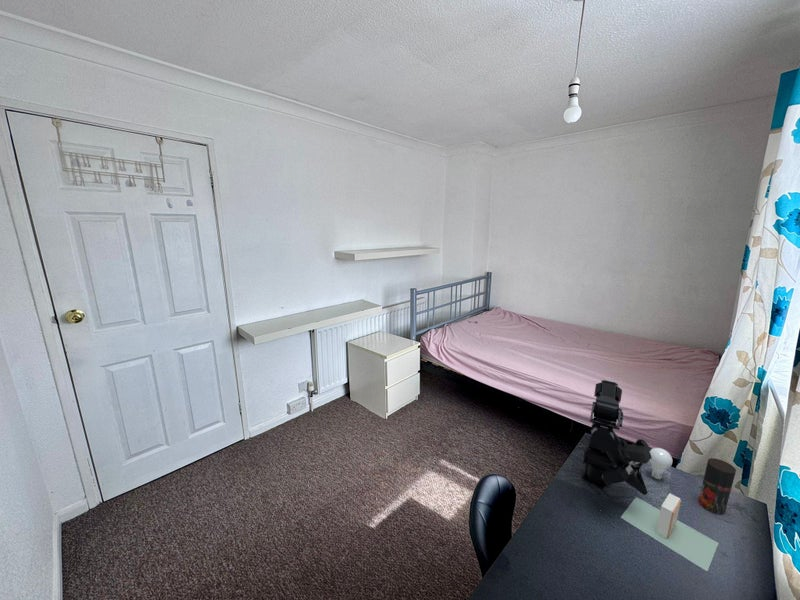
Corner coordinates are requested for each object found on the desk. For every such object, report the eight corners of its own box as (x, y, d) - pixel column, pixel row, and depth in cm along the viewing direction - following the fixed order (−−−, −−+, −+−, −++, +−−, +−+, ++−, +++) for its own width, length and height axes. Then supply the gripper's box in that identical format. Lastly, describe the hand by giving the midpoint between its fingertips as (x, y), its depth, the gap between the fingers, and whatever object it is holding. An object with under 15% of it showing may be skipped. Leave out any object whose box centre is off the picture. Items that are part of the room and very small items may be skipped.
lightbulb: (644, 479, 109) (650, 451, 106) (644, 468, 114) (649, 441, 112) (669, 488, 105) (675, 459, 103) (667, 475, 111) (673, 448, 108)
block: (655, 532, 90) (661, 505, 88) (664, 518, 94) (669, 493, 92) (667, 539, 88) (673, 512, 86) (675, 525, 92) (681, 499, 90)
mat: (620, 518, 95) (620, 517, 95) (635, 498, 102) (636, 496, 102) (706, 573, 80) (707, 571, 80) (718, 544, 87) (718, 543, 87)
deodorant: (730, 517, 95) (741, 474, 91) (706, 514, 96) (717, 471, 93) (715, 500, 100) (725, 459, 97) (693, 498, 102) (702, 457, 98)
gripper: (619, 448, 89) (661, 508, 83) (645, 422, 99) (684, 474, 93) (586, 456, 97) (622, 511, 91) (613, 431, 107) (647, 480, 101)
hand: (645, 494), depth 94 cm, fingers closed
